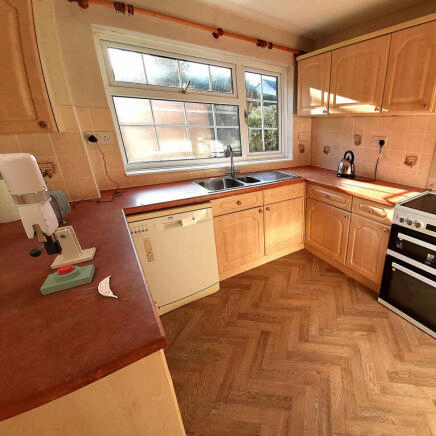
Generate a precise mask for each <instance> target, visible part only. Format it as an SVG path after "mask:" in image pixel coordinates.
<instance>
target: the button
mask: <svg viewBox="0 0 436 436" xmlns="http://www.w3.org/2000/svg"><path fill="white" fill-rule="evenodd" d="M72 266H73V264H71V265H65V266H62V267H59V268H57V271H58V272H59V274H60V275H65V274H68V273H70V272H72V271H73V270H74V269H73V267H72Z"/></svg>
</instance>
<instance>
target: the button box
mask: <svg viewBox="0 0 436 436" xmlns="http://www.w3.org/2000/svg"><path fill="white" fill-rule="evenodd" d="M72 267H73V269H74V270H73V271H72V272H70V273H68V274H65V275H60V274H59V272H58V270H57V271H55V272H54V273H51V274H48V275H47V277H46V279H45V281H44V282H43V283H42V285H41V287H40V288H39V291H40V293H41V294H42V296H45V295H49V294H52V293H57V292H60V291H64V290H67V289H71V288H75V287H78V286H82V285H86V284H89V283H92V280H93V277H94V274H95V270H96V268H95V265H94V264H93V263H92V264H88V265H84V266H78V265H72Z"/></svg>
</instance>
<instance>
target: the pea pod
mask: <svg viewBox="0 0 436 436" xmlns="http://www.w3.org/2000/svg"><path fill="white" fill-rule="evenodd" d="M111 277H112V275H109V276H107V277H105V278H104V279H102V280H101V281H100V282H99V284H98V286H97V289H98V293H99V294H101V295H102V296H104V297H113V298H116V299H118V298H119V297H118V296H116V295H114V293H113V291H112V290H111V288H110V278H111Z"/></svg>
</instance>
